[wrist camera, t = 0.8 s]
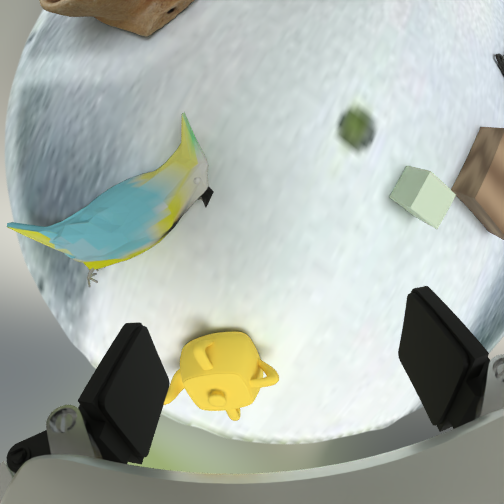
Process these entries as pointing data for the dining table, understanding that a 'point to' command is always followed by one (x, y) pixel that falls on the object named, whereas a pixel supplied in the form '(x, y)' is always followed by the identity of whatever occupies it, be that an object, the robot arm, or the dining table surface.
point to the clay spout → (121, 12)
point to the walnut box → (484, 180)
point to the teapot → (221, 373)
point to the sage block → (423, 195)
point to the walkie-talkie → (500, 62)
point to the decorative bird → (131, 211)
